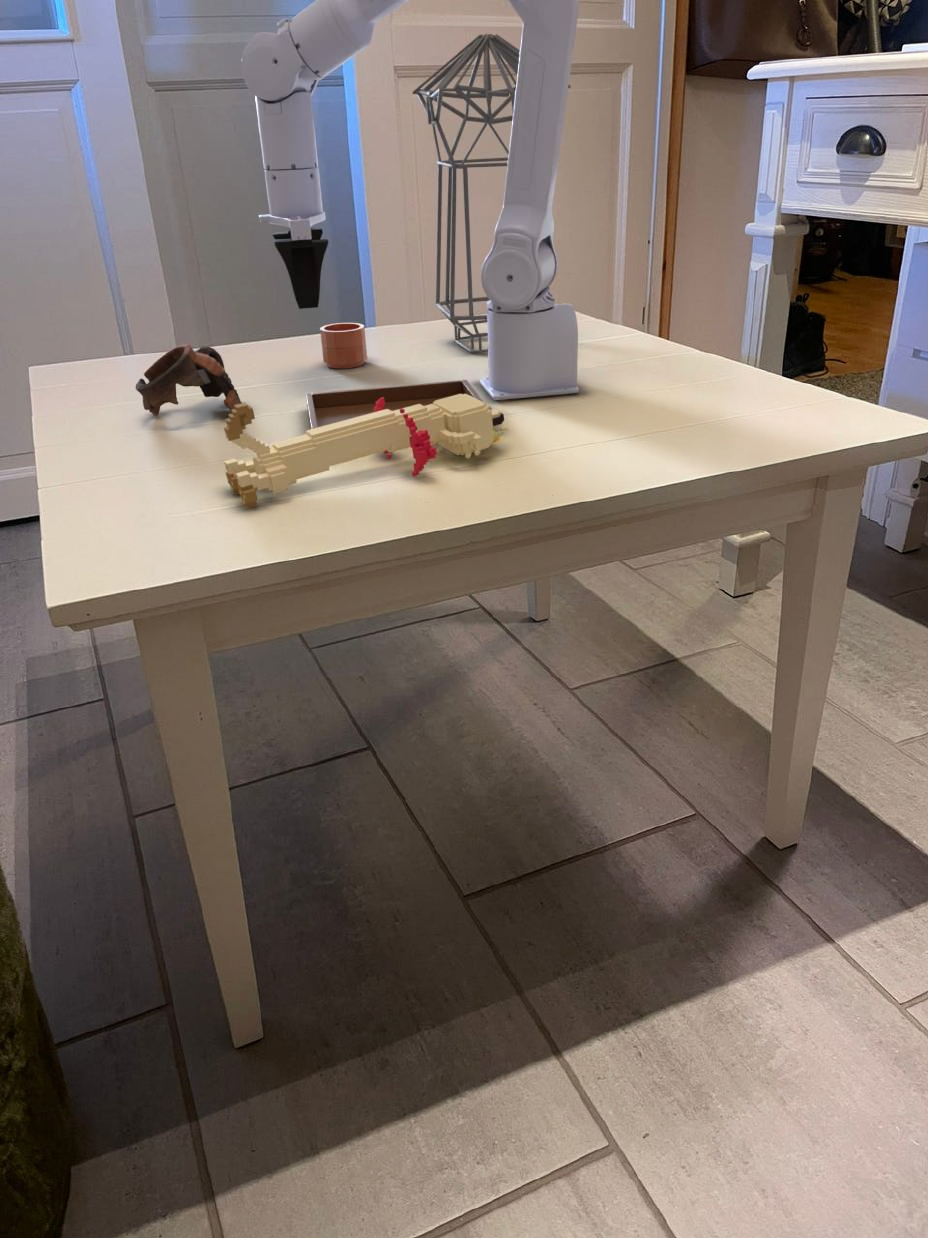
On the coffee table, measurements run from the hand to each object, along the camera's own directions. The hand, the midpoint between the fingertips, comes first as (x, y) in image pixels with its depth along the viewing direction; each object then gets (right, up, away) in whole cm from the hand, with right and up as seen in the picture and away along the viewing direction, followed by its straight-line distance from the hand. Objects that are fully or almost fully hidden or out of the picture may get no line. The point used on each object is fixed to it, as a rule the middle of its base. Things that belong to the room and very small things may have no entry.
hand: (306, 301), depth 106 cm
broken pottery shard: (-11, -14, -5) cm, 18 cm away
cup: (+3, -4, +12) cm, 13 cm away
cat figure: (+10, -23, -24) cm, 35 cm away
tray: (+11, -16, -11) cm, 22 cm away
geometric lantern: (+22, 0, +18) cm, 28 cm away
